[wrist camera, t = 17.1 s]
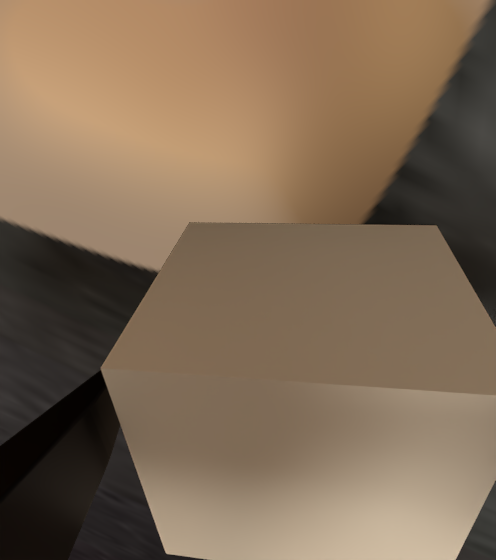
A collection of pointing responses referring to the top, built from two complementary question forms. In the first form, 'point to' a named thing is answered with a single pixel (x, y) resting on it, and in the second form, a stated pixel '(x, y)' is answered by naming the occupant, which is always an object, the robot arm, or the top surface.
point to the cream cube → (309, 394)
